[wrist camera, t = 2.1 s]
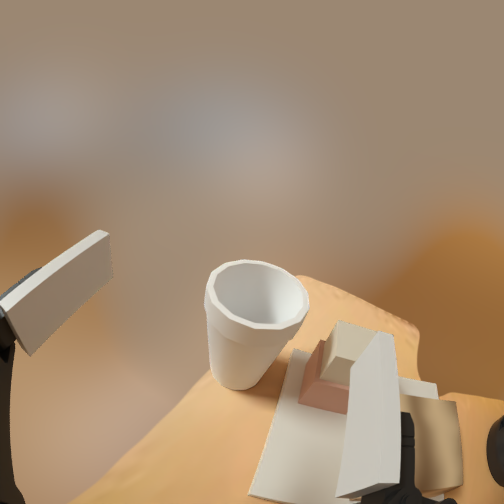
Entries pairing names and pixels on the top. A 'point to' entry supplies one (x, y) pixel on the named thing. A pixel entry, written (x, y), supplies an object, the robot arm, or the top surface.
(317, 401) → the terracotta tower
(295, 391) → the white board
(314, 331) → the top surface
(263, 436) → the top surface
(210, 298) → the foam cup
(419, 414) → the oak plinth
